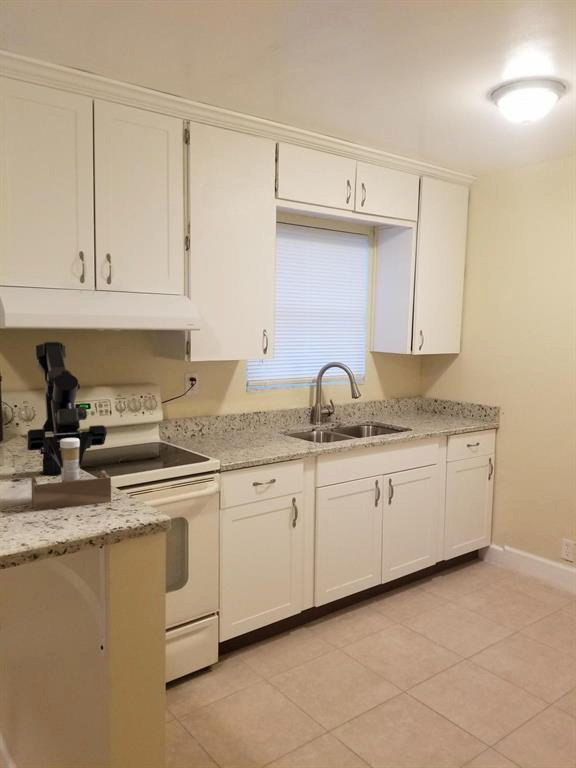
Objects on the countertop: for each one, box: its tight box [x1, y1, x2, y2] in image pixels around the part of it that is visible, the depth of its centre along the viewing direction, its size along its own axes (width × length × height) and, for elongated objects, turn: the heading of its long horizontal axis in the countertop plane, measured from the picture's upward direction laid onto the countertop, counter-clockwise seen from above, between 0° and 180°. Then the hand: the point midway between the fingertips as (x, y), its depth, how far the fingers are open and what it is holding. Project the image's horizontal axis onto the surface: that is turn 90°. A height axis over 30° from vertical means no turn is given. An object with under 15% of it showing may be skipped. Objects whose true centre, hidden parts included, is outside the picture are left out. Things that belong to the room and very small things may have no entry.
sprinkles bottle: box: [60, 438, 81, 482], centre depth 148 cm, size 5×5×13 cm
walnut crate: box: [30, 470, 112, 511], centre depth 148 cm, size 8×18×6 cm, turn 118°
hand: (71, 465), depth 147 cm, fingers closed on sprinkles bottle, 4 cm apart
